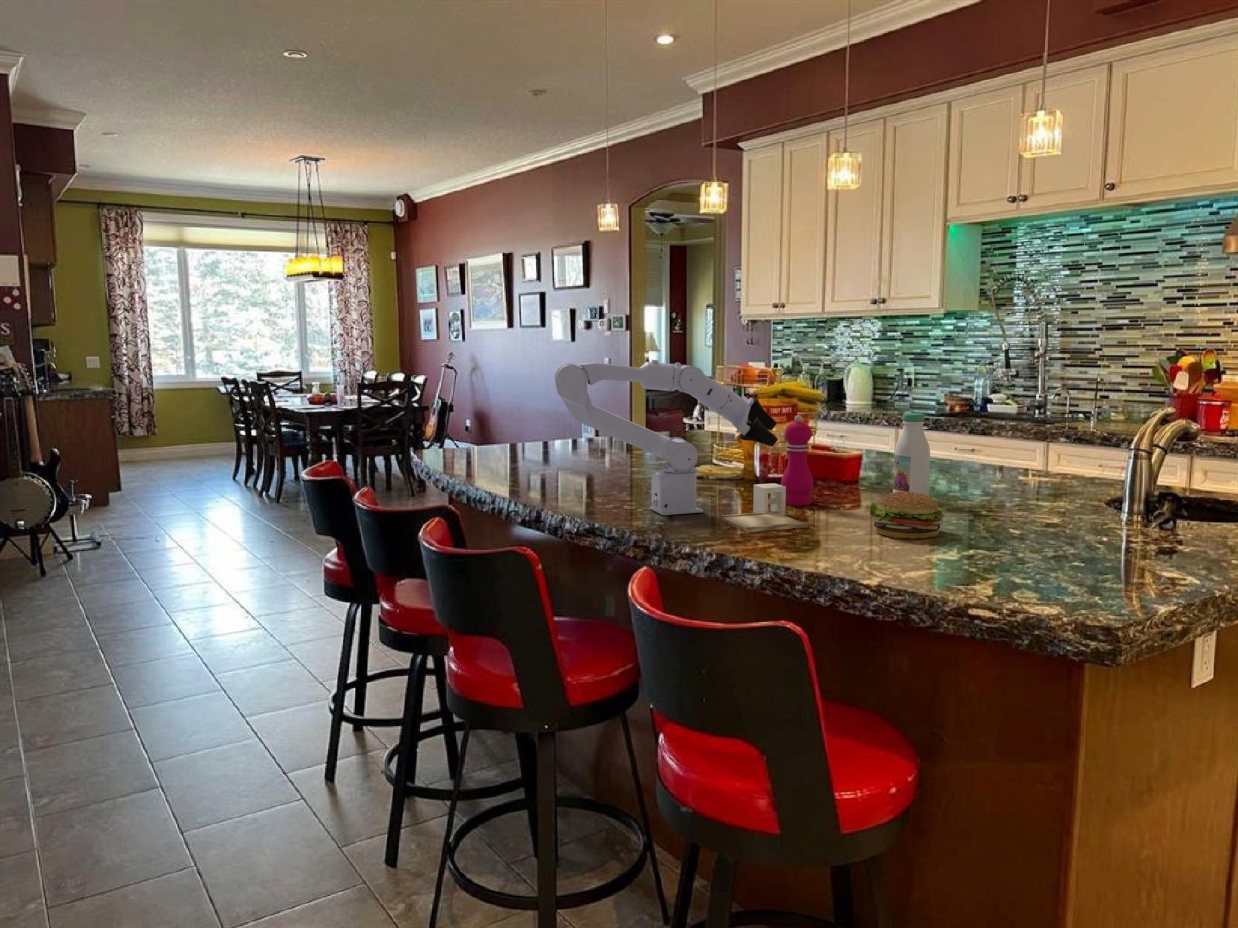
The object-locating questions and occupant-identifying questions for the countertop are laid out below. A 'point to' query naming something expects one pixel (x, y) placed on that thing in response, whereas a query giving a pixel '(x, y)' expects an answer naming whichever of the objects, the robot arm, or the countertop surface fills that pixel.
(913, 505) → the food
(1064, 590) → the countertop surface
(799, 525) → the plate
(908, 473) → the milk bottle
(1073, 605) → the countertop surface
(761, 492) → the white block
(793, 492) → the pepper mill
